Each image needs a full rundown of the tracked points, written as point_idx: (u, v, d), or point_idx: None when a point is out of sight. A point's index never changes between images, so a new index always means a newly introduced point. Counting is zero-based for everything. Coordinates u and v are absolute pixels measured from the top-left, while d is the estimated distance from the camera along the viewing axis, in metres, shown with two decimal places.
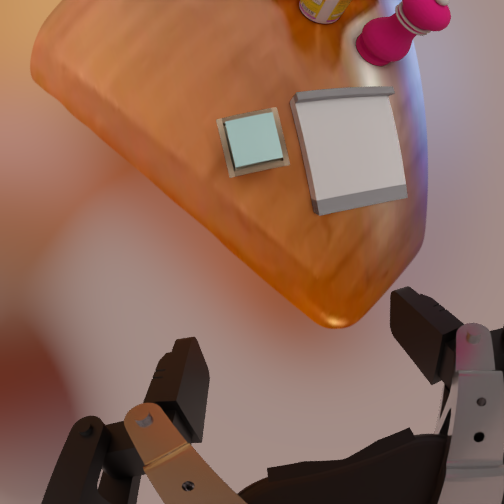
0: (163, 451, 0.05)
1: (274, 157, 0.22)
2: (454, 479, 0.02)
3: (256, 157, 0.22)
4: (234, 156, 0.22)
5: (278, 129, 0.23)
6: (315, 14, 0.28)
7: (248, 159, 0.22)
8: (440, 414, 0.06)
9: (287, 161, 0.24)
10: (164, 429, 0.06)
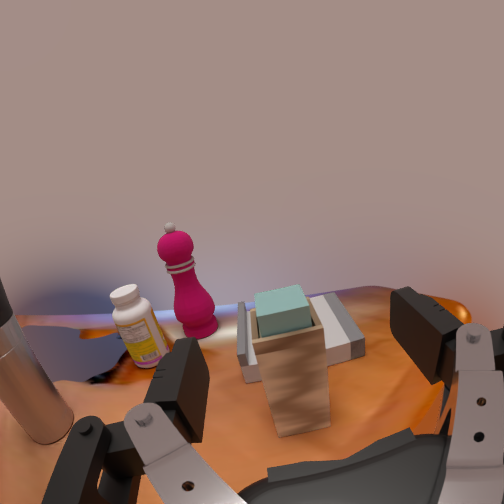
0: (163, 451, 0.05)
1: (299, 287, 0.23)
2: (454, 479, 0.02)
3: (299, 295, 0.22)
4: (297, 307, 0.20)
5: None
6: (157, 351, 0.40)
7: (301, 299, 0.21)
8: (440, 414, 0.06)
9: None
10: (164, 429, 0.06)
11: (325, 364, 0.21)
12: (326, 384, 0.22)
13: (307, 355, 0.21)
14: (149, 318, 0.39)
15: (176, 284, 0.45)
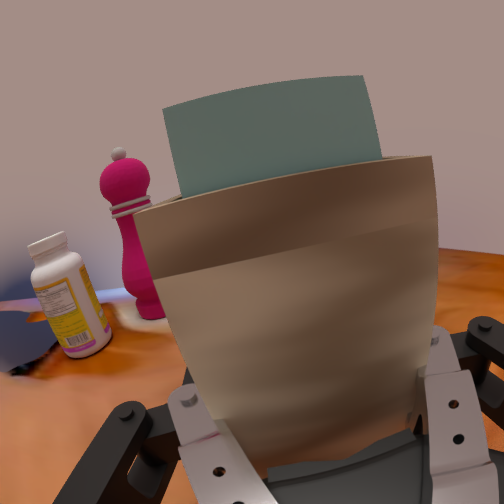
0: (202, 433, 0.05)
1: None
2: (443, 485, 0.02)
3: None
4: (320, 78, 0.05)
5: None
6: (88, 333, 0.24)
7: None
8: (407, 418, 0.06)
9: None
10: None
11: (428, 328, 0.05)
12: (414, 398, 0.06)
13: (379, 290, 0.05)
14: (75, 280, 0.23)
15: (123, 234, 0.29)
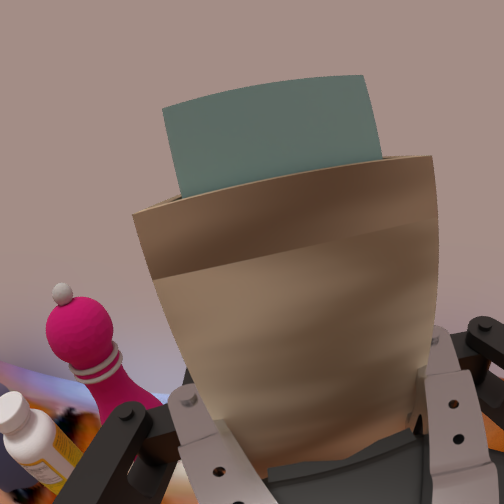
0: (202, 433, 0.05)
1: None
2: (443, 485, 0.02)
3: None
4: (320, 78, 0.05)
5: None
6: None
7: None
8: (407, 418, 0.06)
9: None
10: None
11: (429, 329, 0.05)
12: (414, 398, 0.06)
13: (379, 289, 0.05)
14: (52, 457, 0.13)
15: (93, 395, 0.19)
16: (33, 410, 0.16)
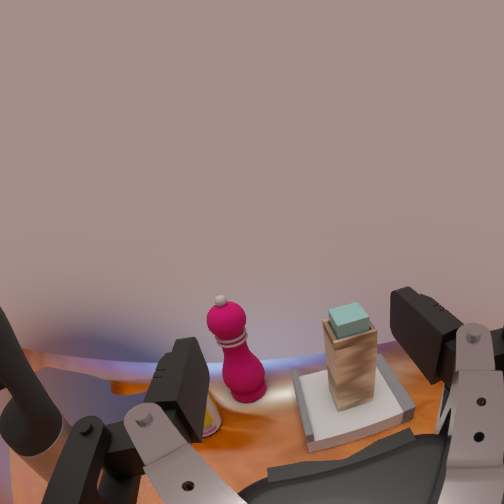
0: (163, 451, 0.05)
1: (358, 304, 0.33)
2: (454, 479, 0.02)
3: (360, 310, 0.32)
4: (361, 318, 0.30)
5: None
6: (213, 423, 0.37)
7: (362, 312, 0.31)
8: (440, 414, 0.06)
9: None
10: (164, 429, 0.06)
11: (375, 354, 0.31)
12: (374, 368, 0.31)
13: (366, 349, 0.30)
14: None
15: (228, 356, 0.42)
16: None
